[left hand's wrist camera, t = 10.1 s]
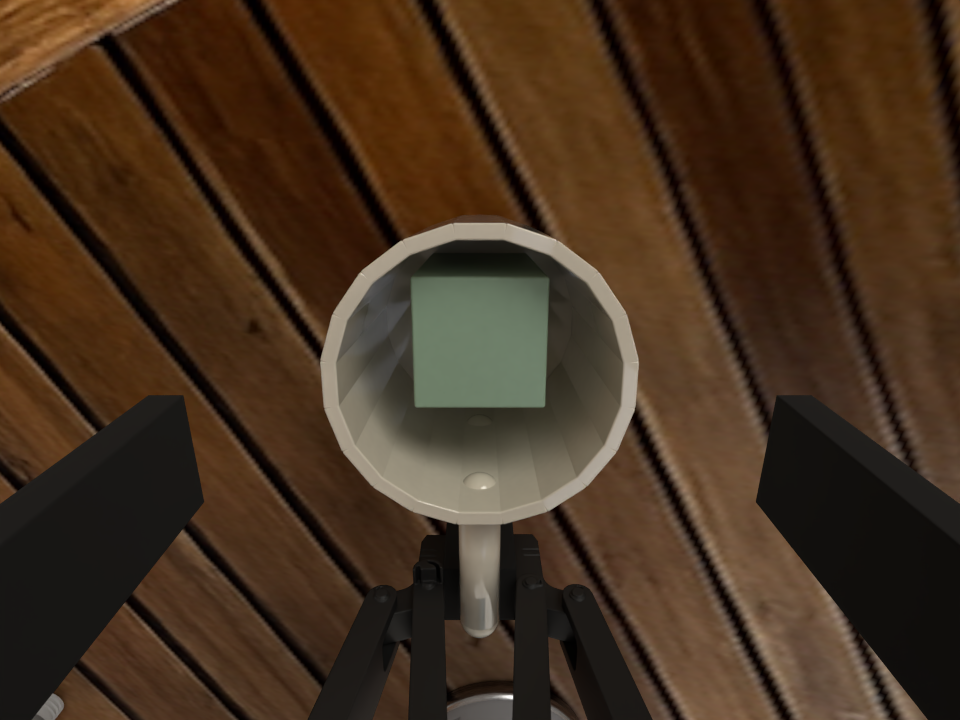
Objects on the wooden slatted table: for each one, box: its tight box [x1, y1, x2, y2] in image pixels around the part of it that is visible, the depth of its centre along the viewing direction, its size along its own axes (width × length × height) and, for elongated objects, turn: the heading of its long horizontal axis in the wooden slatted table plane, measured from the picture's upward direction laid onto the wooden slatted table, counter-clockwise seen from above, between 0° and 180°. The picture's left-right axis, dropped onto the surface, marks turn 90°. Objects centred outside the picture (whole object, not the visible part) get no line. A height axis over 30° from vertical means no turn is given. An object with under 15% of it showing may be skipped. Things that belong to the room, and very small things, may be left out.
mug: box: [320, 215, 639, 638], centre depth 24 cm, size 16×10×11 cm, turn 0°
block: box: [410, 253, 549, 408], centre depth 23 cm, size 4×4×9 cm
